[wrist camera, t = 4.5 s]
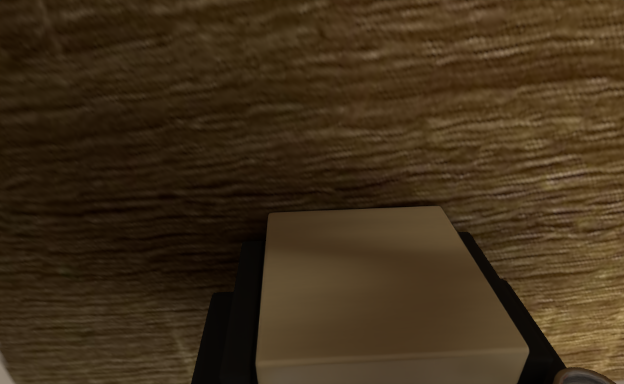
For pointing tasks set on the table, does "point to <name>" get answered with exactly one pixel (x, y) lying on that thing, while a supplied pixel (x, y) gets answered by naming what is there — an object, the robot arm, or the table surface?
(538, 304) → the table surface
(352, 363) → the block
